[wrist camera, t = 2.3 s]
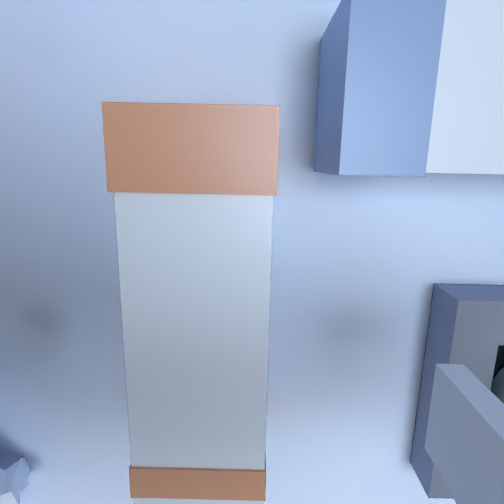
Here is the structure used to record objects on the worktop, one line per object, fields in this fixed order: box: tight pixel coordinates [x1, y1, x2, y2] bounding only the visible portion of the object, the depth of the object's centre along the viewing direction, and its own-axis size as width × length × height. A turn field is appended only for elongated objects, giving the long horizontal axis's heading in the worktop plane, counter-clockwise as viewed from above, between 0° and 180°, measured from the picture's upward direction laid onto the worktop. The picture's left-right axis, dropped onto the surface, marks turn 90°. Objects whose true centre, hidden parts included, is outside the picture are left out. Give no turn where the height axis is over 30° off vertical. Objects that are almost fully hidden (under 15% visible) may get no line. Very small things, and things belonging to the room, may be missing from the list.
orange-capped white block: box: [102, 102, 280, 504], centre depth 14 cm, size 13×5×5 cm, turn 179°
